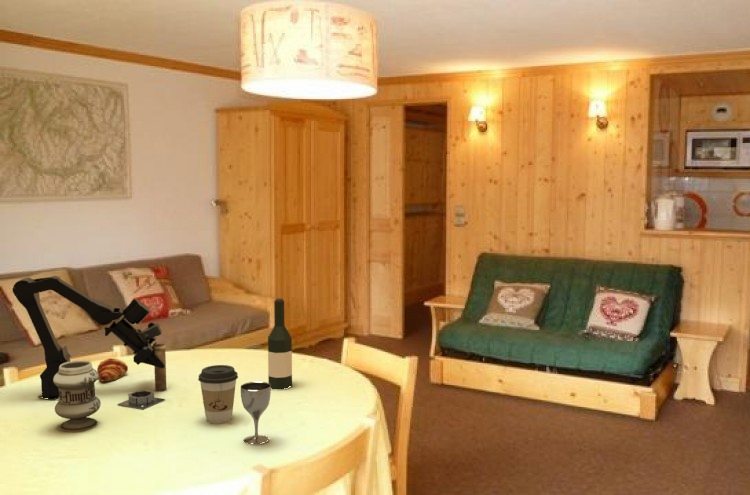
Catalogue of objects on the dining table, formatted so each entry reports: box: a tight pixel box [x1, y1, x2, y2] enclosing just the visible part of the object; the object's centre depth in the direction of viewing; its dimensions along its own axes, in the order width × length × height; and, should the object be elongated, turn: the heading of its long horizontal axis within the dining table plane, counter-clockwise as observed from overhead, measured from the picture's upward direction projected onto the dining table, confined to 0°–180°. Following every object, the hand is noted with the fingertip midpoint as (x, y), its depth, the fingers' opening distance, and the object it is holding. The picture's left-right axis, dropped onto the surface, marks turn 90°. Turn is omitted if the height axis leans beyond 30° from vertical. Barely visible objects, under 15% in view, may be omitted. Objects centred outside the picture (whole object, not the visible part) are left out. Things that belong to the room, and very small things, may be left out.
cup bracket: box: [117, 389, 166, 411], centre depth 223 cm, size 10×10×3 cm
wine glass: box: [240, 381, 272, 445], centre depth 192 cm, size 8×8×15 cm
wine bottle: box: [267, 297, 293, 390], centre depth 239 cm, size 8×8×30 cm
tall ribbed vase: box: [153, 343, 168, 392], centre depth 236 cm, size 4×4×15 cm
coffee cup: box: [198, 364, 239, 425], centre depth 208 cm, size 11×11×15 cm
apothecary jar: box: [53, 360, 102, 433], centre depth 202 cm, size 12×12×18 cm
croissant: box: [96, 357, 129, 382], centre depth 252 cm, size 21×10×8 cm, turn 6°
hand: (164, 365), depth 236 cm, fingers closed on tall ribbed vase, 4 cm apart
